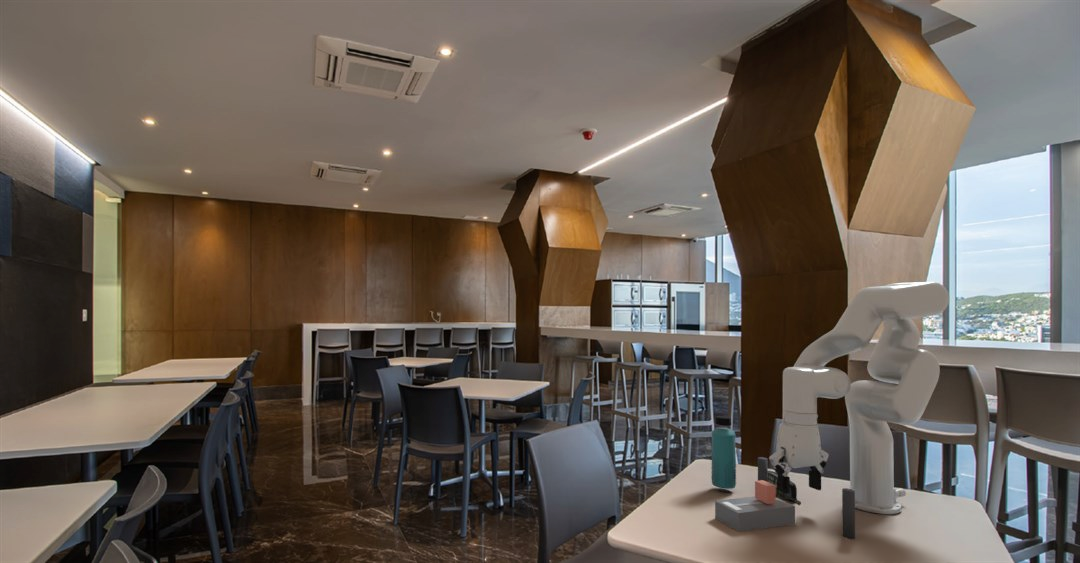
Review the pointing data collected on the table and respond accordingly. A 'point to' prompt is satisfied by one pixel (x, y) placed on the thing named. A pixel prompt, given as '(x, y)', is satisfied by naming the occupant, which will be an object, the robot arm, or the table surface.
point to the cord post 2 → (848, 513)
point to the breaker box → (754, 513)
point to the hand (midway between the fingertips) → (799, 490)
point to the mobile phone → (791, 496)
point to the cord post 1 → (762, 469)
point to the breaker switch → (765, 492)
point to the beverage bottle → (723, 455)
